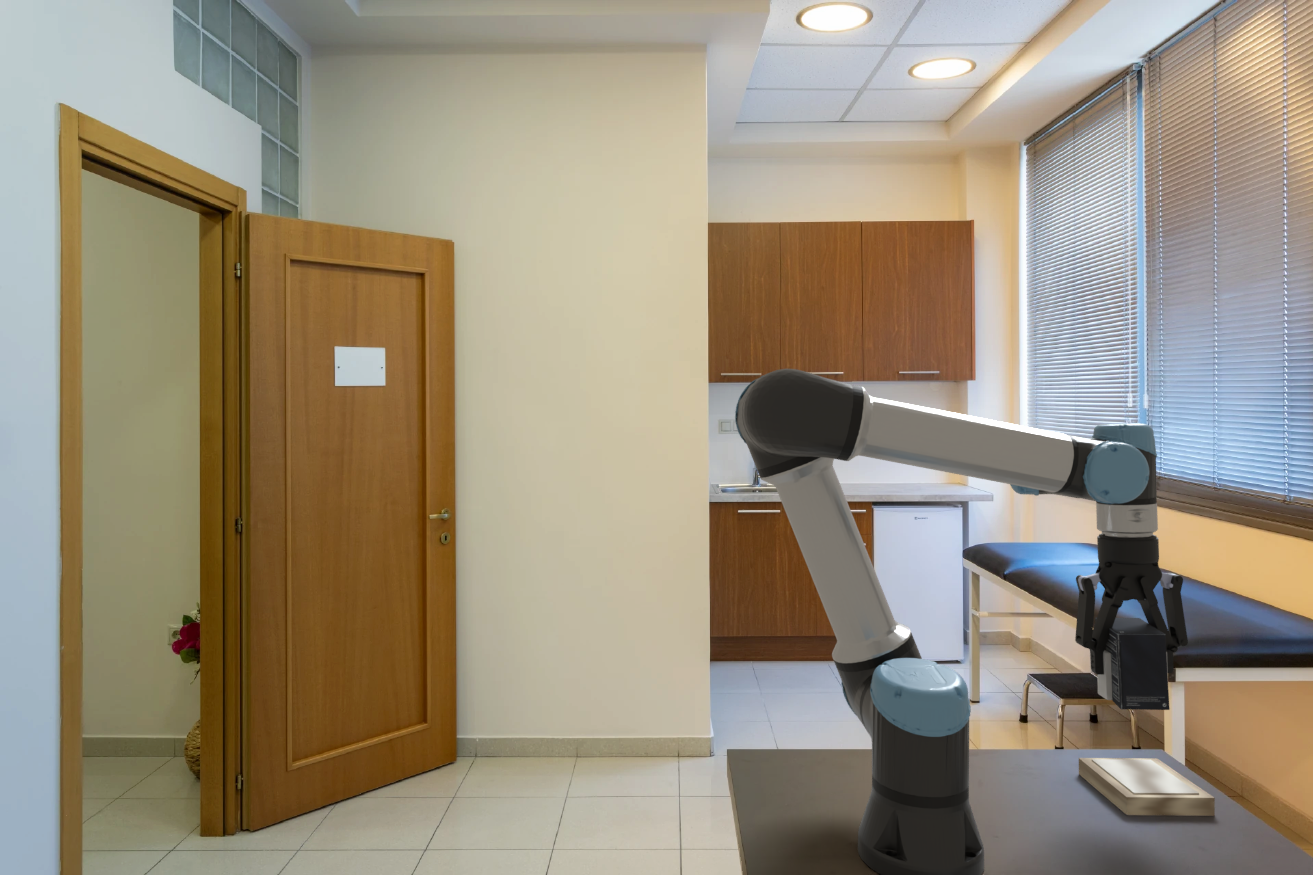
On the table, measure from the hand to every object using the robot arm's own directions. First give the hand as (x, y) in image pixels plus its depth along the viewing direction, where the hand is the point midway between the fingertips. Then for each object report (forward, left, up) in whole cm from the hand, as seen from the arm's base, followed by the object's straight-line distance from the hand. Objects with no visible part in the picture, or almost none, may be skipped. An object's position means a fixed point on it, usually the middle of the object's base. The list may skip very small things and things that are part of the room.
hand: (1132, 695), depth 118 cm
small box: (0, 0, -1) cm, 1 cm away
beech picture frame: (+4, +5, -16) cm, 17 cm away
